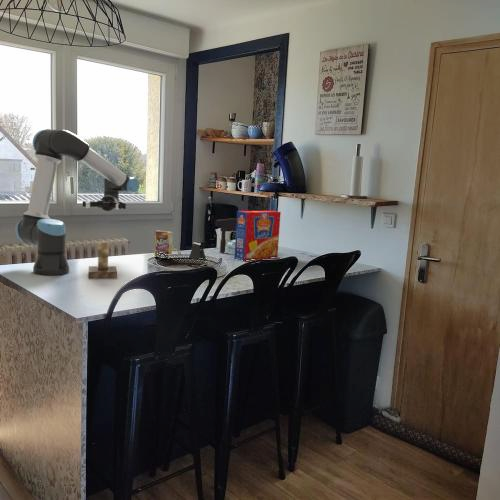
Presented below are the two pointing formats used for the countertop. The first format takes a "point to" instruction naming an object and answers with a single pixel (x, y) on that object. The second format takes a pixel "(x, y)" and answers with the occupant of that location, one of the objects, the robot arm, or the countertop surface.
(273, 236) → the pasta box
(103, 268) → the leg
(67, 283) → the countertop surface
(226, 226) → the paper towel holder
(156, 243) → the candy box
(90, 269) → the board
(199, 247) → the door stopper
